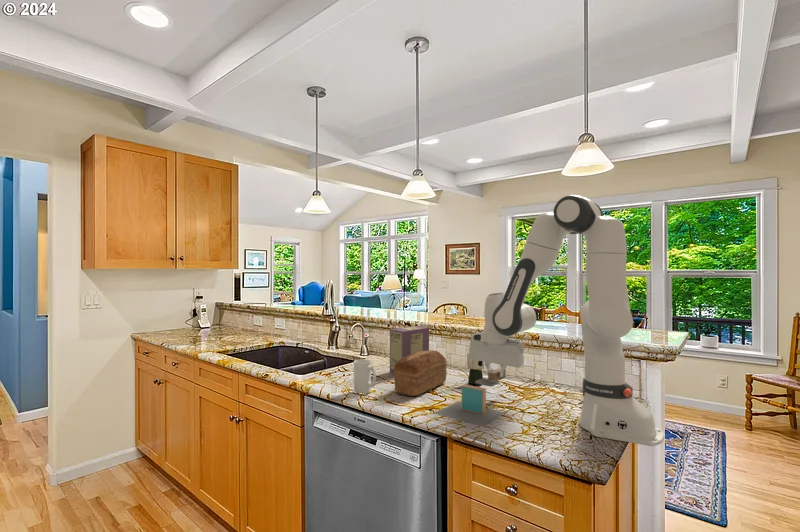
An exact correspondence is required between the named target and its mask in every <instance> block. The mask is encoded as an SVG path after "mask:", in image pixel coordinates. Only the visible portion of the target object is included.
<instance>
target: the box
mask: <svg viewBox="0 0 800 532" xmlns="http://www.w3.org/2000/svg"><path fill="white" fill-rule="evenodd" d="M426 350H430V328H429V327H425V326H418V325H412V326H411V325H410V326H405V327H398V328H397V327H396V328H391V329H389V374H393V375H395V373H394V366H395V364H396V363H397V362H398V361H399V360H400V359H402V358H404V357H406V356H408V355H410V354H413V353H414V352H417V351H426Z"/></svg>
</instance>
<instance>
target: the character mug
mask: <svg viewBox="0 0 800 532" xmlns="http://www.w3.org/2000/svg"><path fill="white" fill-rule="evenodd" d="M466 358H467V359H466V367H467V368H468V369H469V373H468V383H469V384H473V386H475V385H477V386H479V385H481V384H476V381H477V380H479V379H482V378H484V376H483V371H482V370H483V369H485V362H484V361H478V360H473V359H470V357H469V351H467V354H466Z"/></svg>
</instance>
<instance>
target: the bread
mask: <svg viewBox="0 0 800 532" xmlns="http://www.w3.org/2000/svg"><path fill="white" fill-rule="evenodd" d="M446 359H447V358H445V356H444V355H443V354H442V353H441V352H440V351H437V350H433V349H432V350H431V349H429V350H426V351H417V352H414V353H413V354H410V355H408V356H406V357H404V358H402V359H400V360H399V361H398V362H397V363H396V364H395V366H394V373H395V374H393V375H394V380H393V381H394V382H393V383H394V390H395V392H396V393H398V394H400V395H404V396H410V397H411V396H412V397H416V396H419V395H422V394H423V393H425V392H428V391H429V390H432V389H434V388H436V387H438V386H440V385H443V384H444V383H445V382H446V380H447V371H448V370H447V363H448V361H447V360H446Z"/></svg>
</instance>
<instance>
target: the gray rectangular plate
mask: <svg viewBox="0 0 800 532" xmlns="http://www.w3.org/2000/svg"><path fill="white" fill-rule="evenodd" d="M434 414H436V415H440V416H443V417H447V418H451V419H454V420H458V421H462V422H465V423H469V424H473V425H476V426H480V427H486V426H488V425H489V424H491V423H492V422H494V421H495V420H497V419H498V418H500V417H501V416H503V415H505V414H506V412H504V411H498V410H495V409H491V408H487V407H486V413H485V414H479V413H475V412H471V411H467V410H463V409H462V401H457V402H454V403H452V404H451V405H448V406H446V407H444V408H442V409H440V410H438V411H435V412H434Z"/></svg>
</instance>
